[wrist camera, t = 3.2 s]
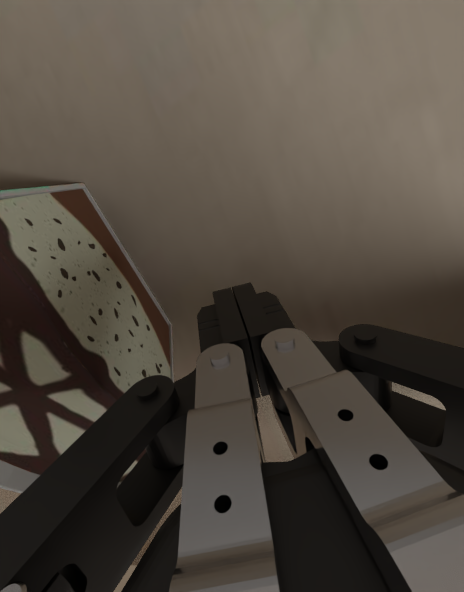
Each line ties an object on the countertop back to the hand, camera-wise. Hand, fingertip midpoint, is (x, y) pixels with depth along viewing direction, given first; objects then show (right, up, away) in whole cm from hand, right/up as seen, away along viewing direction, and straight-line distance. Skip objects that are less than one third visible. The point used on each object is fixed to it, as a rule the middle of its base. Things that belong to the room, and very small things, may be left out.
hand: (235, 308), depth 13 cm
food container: (-8, +1, +6) cm, 11 cm away
